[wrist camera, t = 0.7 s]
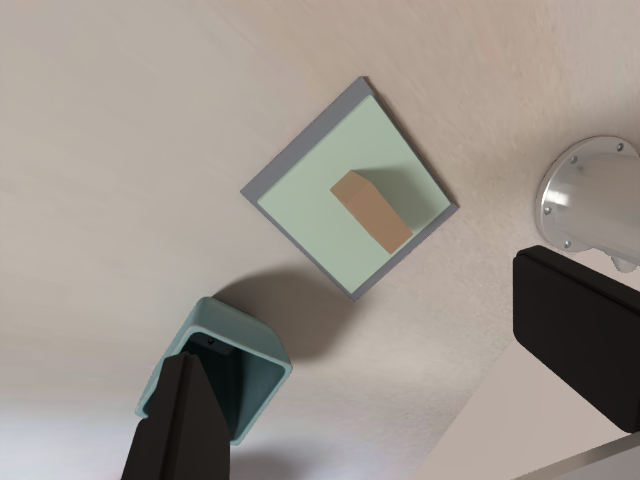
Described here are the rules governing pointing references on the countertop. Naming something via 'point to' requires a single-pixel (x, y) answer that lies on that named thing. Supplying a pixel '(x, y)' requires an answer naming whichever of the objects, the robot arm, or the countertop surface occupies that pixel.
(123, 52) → the countertop surface
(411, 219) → the lid
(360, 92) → the mat
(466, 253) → the countertop surface
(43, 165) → the countertop surface
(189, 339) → the flower pot
